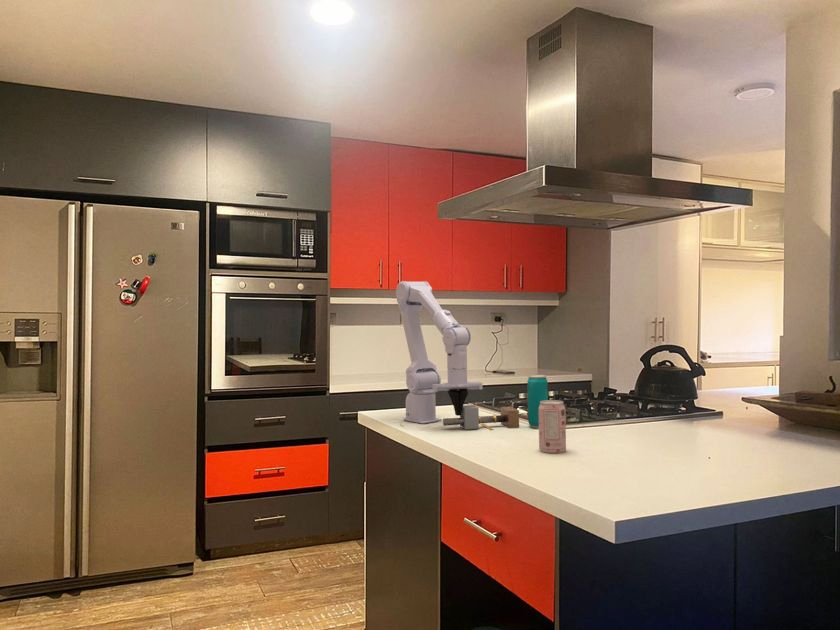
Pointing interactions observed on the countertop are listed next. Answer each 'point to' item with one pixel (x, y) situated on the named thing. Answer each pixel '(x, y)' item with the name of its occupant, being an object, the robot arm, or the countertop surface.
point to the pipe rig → (492, 419)
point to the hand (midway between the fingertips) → (458, 415)
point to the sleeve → (470, 417)
